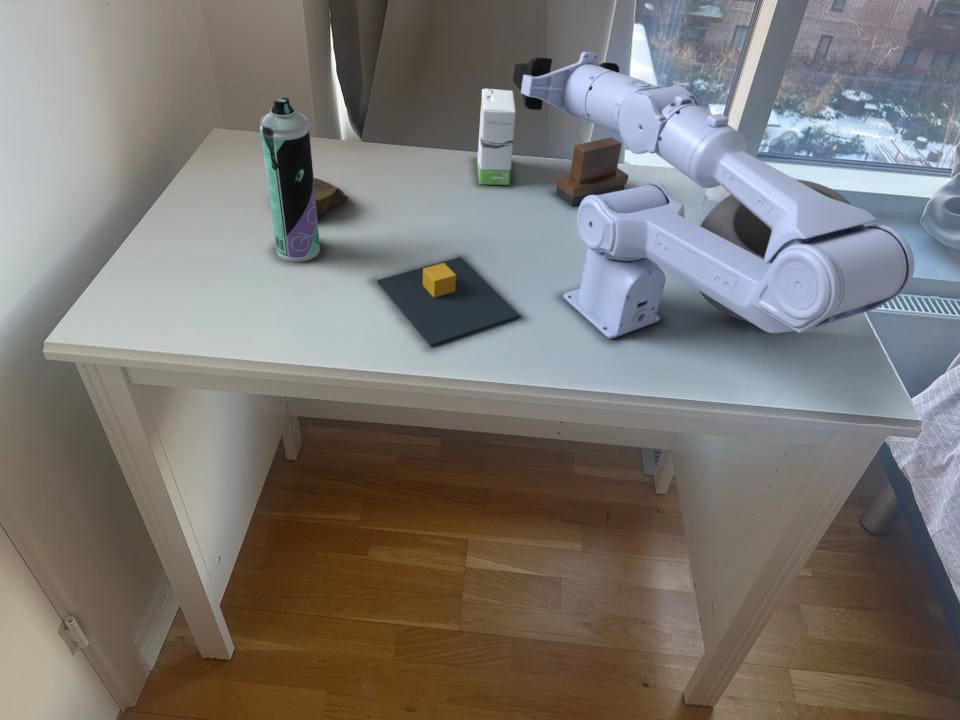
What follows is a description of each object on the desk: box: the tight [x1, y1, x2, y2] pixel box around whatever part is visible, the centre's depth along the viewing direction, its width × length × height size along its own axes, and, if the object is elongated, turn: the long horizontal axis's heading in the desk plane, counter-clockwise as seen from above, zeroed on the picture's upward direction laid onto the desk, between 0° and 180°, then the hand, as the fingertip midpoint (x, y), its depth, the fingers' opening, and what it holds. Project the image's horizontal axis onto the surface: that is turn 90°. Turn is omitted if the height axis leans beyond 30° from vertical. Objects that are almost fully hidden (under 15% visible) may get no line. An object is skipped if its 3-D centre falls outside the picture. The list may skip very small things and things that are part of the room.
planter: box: [699, 178, 852, 323], centre depth 85 cm, size 18×7×19 cm, turn 78°
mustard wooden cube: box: [423, 263, 456, 298], centre depth 91 cm, size 3×3×2 cm
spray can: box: [259, 97, 321, 263], centre depth 90 cm, size 6×6×20 cm
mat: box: [376, 256, 520, 348], centre depth 90 cm, size 14×12×1 cm
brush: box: [555, 136, 629, 207], centre depth 111 cm, size 10×4×8 cm, turn 121°
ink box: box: [476, 88, 517, 186], centre depth 113 cm, size 9×5×12 cm, turn 2°
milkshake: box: [698, 185, 731, 226], centre depth 101 cm, size 4×5×10 cm
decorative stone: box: [313, 177, 349, 218], centre depth 105 cm, size 10×9×4 cm
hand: (543, 74), depth 91 cm, fingers open, 7 cm apart
